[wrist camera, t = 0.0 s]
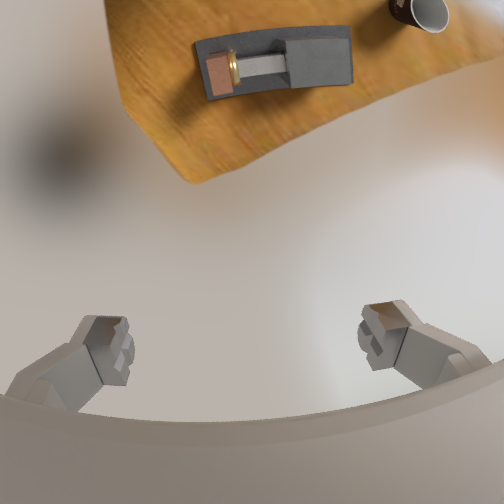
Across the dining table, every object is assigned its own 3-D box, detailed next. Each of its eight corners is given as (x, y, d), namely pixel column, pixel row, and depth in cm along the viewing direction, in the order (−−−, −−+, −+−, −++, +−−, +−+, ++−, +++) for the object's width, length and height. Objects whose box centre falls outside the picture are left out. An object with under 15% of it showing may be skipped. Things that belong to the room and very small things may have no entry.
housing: (208, 99, 51) (205, 114, 44) (195, 41, 43) (189, 44, 36) (351, 82, 50) (373, 94, 43) (347, 25, 42) (370, 28, 35)
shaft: (215, 85, 48) (213, 96, 41) (208, 54, 44) (205, 60, 37) (309, 72, 47) (323, 81, 41) (305, 41, 43) (320, 45, 36)
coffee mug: (402, 35, 42) (430, 41, 35) (375, 3, 38) (401, 3, 31) (434, 7, 37) (464, 11, 29) (409, -24, 32) (438, -26, 25)
